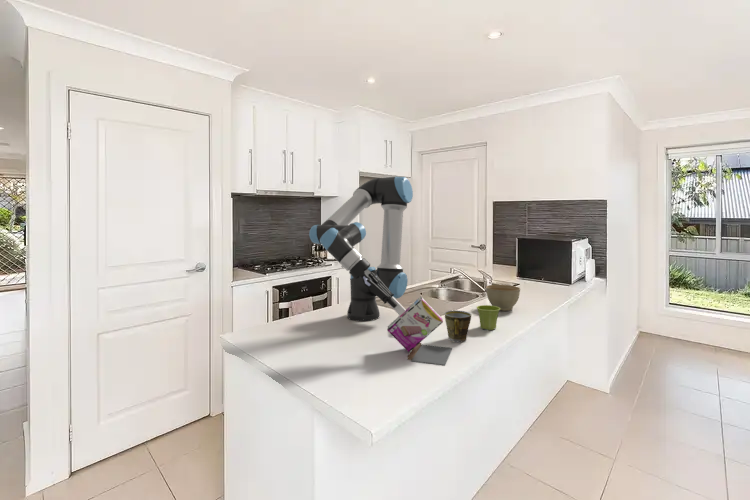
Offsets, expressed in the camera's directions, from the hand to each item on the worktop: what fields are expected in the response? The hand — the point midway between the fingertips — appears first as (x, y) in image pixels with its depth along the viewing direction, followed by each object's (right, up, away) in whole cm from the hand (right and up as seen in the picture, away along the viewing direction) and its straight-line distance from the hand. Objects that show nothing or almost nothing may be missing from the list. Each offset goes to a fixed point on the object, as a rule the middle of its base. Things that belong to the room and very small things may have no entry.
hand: (403, 312), depth 131 cm
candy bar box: (-2, -10, +2) cm, 10 cm away
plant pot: (+38, -11, +27) cm, 48 cm away
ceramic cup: (+21, -13, +12) cm, 27 cm away
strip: (+4, -14, 0) cm, 14 cm away
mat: (+10, -14, -2) cm, 17 cm away
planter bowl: (+54, -8, +58) cm, 80 cm away
